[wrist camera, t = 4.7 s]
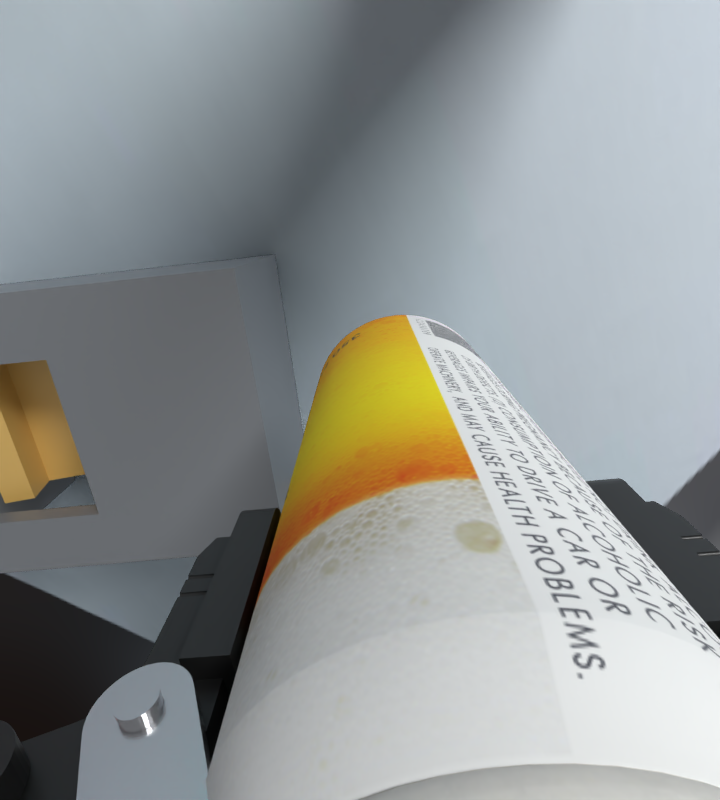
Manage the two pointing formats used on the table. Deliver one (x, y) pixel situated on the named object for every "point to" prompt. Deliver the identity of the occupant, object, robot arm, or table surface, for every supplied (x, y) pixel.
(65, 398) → the box
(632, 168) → the table surface
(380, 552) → the beer can
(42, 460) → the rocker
